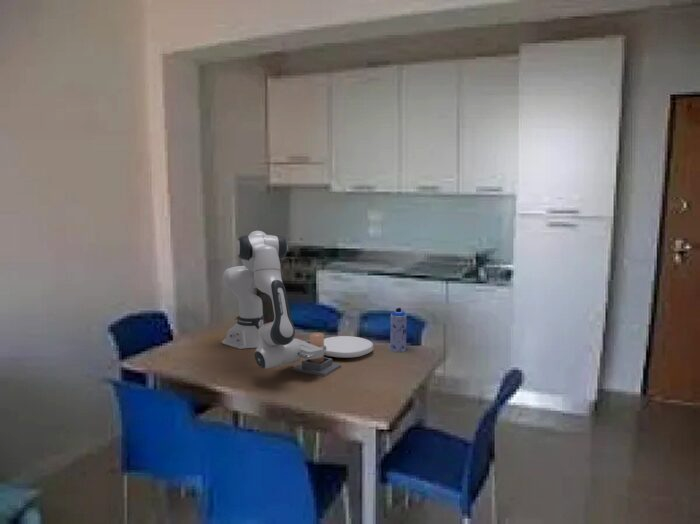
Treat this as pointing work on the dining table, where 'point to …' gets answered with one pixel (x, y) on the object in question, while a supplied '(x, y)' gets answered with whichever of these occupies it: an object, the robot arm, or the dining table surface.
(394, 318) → the aerosol can
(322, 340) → the salmon pink cylinder
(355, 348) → the plate
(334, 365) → the grey square tray
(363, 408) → the dining table surface
